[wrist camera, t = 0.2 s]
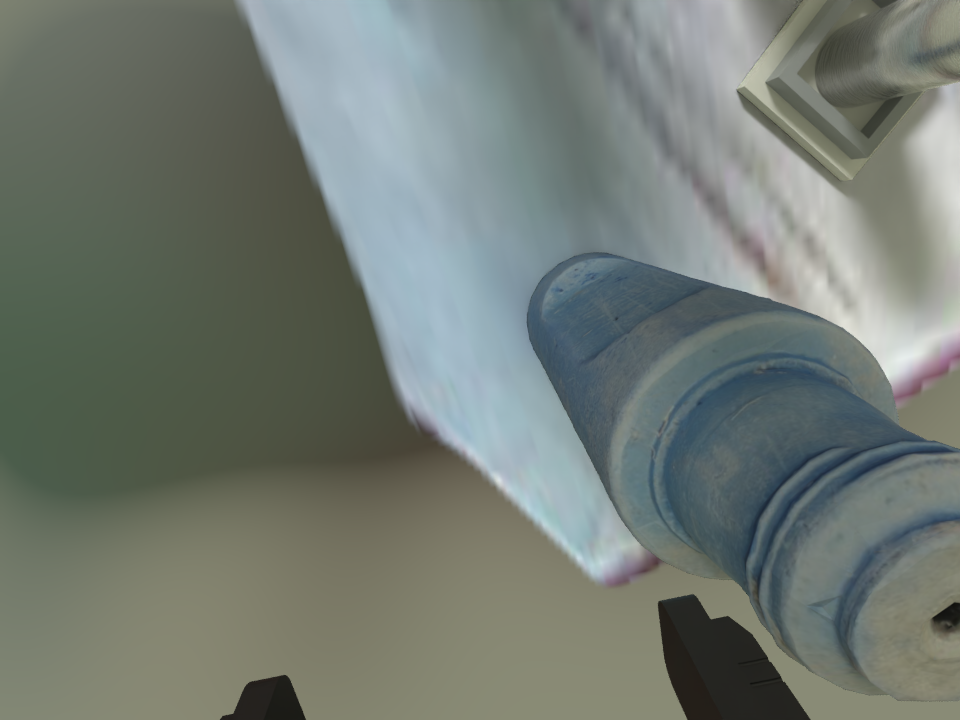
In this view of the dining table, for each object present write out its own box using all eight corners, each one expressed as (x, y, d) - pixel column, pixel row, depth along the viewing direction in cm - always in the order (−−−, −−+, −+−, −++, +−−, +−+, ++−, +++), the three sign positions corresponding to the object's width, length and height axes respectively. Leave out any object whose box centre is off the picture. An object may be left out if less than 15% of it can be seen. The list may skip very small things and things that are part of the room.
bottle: (565, 403, 41) (820, 875, 12) (500, 295, 38) (628, 568, 10) (676, 339, 40) (1244, 692, 11) (617, 223, 37) (1156, 292, 9)
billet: (815, 29, 33) (1002, -62, 22) (893, 14, 33) (1122, -85, 22) (814, 114, 35) (990, 71, 23) (890, 100, 35) (1104, 50, 23)
